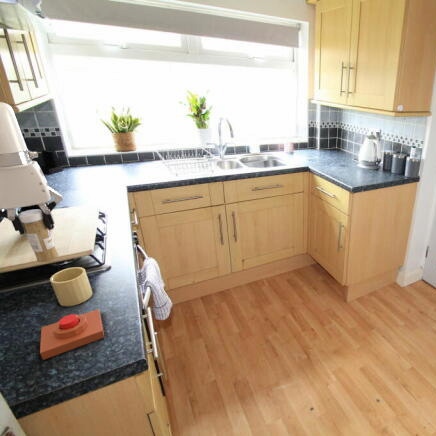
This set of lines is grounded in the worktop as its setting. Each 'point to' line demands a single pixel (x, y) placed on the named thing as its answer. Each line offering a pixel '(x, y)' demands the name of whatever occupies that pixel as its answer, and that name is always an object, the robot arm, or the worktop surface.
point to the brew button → (68, 322)
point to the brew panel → (71, 335)
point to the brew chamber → (71, 286)
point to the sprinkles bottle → (38, 235)
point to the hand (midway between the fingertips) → (36, 229)
